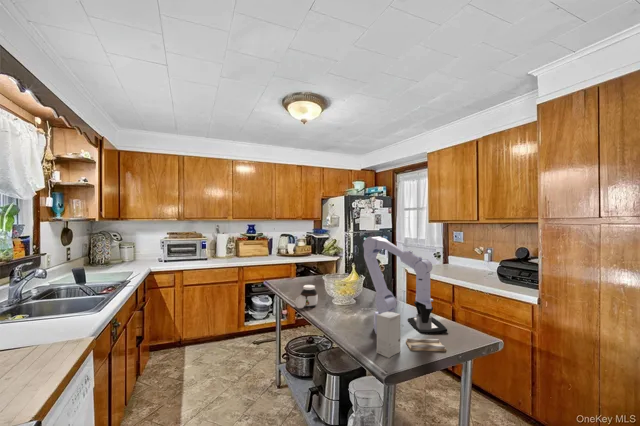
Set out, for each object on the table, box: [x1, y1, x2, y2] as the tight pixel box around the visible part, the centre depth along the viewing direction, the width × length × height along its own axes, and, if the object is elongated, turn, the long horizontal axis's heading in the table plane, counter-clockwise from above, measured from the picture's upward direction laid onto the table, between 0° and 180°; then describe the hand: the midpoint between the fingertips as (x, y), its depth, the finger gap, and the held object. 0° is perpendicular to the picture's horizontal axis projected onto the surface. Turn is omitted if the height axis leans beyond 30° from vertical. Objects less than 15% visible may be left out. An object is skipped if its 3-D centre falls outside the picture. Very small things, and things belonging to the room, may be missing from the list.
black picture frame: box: [407, 315, 448, 335], centre depth 141 cm, size 20×3×14 cm
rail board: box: [405, 337, 447, 352], centre depth 118 cm, size 14×7×2 cm, turn 87°
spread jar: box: [295, 284, 319, 309], centre depth 170 cm, size 12×11×12 cm
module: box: [415, 313, 432, 330], centre depth 123 cm, size 5×4×6 cm
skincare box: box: [376, 311, 401, 359], centre depth 113 cm, size 8×6×15 cm
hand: (423, 320), depth 122 cm, fingers closed on module, 4 cm apart
